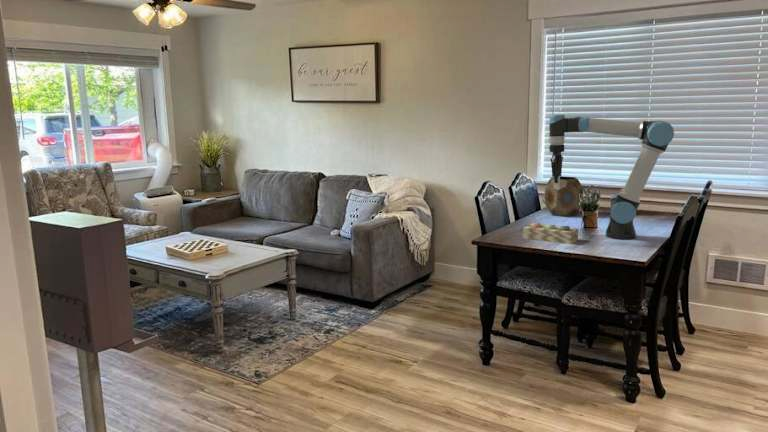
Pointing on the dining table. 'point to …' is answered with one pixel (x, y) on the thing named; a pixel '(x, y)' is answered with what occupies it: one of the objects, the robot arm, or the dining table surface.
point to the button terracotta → (536, 225)
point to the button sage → (550, 226)
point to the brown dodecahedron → (563, 196)
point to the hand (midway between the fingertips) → (556, 188)
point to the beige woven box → (550, 234)
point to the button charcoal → (565, 228)
